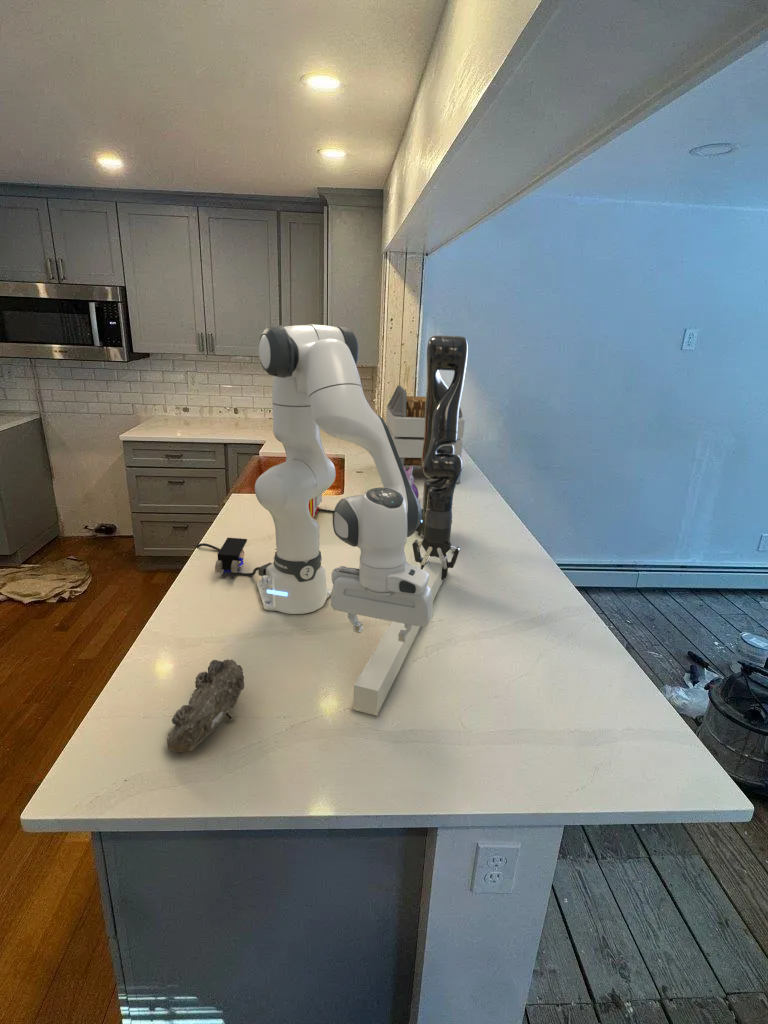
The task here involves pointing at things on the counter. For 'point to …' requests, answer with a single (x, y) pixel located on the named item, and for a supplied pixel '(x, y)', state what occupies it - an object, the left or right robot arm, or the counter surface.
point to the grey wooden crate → (412, 427)
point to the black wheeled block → (230, 556)
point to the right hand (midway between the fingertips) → (433, 577)
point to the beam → (390, 655)
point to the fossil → (206, 705)
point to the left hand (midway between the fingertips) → (380, 635)
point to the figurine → (411, 480)
